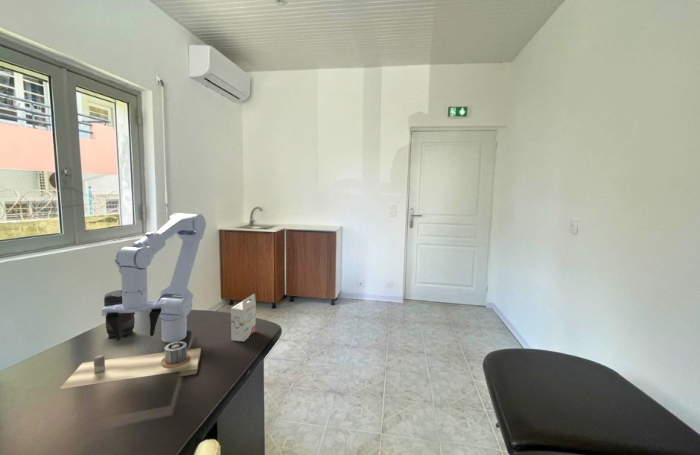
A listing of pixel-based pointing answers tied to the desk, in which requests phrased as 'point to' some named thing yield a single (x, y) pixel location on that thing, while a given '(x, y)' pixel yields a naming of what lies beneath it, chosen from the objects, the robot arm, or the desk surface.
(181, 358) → the collar
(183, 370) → the stand board
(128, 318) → the camera lens
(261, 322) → the desk surface
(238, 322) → the ink cartridge box
